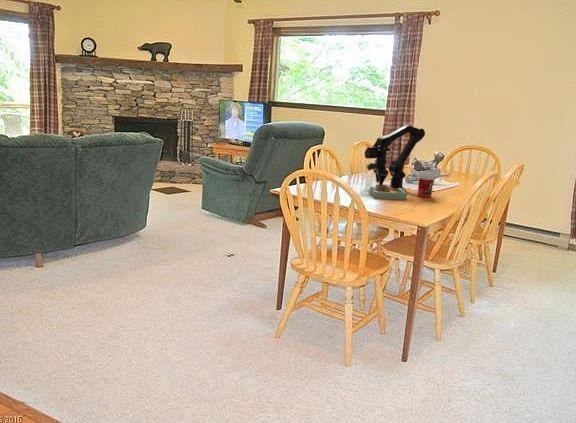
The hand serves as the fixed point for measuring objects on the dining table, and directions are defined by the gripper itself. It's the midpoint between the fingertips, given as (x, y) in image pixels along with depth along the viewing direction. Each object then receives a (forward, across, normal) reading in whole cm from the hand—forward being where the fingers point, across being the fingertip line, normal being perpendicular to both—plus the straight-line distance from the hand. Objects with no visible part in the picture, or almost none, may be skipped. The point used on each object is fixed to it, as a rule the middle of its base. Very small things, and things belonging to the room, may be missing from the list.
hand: (378, 184), depth 321 cm
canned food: (+2, +21, +22) cm, 31 cm away
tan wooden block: (+2, +12, 0) cm, 13 cm away
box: (+2, +25, 0) cm, 25 cm away
